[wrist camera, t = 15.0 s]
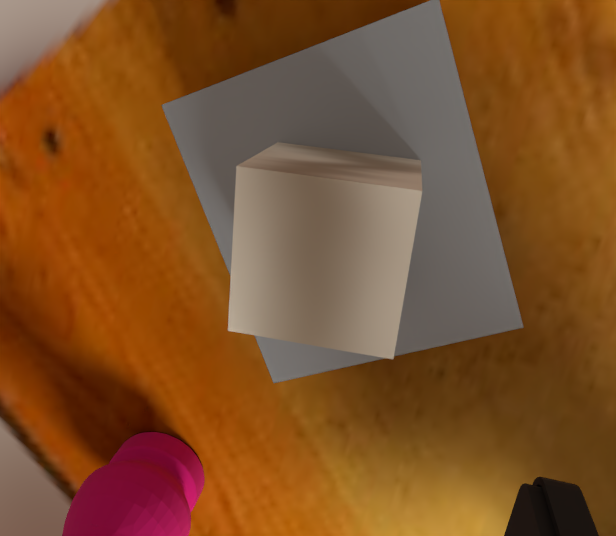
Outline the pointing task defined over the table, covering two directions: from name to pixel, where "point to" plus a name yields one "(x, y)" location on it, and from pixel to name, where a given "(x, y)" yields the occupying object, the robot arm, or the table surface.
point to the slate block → (372, 140)
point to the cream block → (323, 246)
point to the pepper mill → (139, 491)
